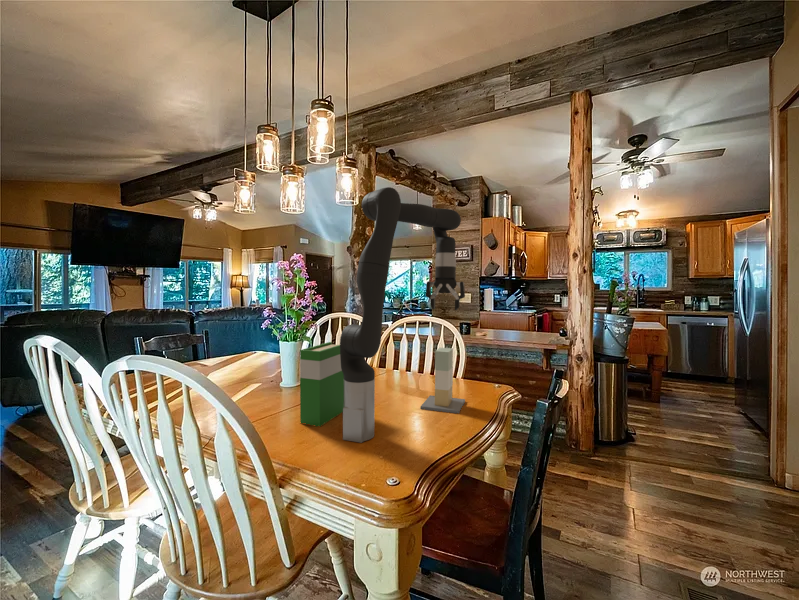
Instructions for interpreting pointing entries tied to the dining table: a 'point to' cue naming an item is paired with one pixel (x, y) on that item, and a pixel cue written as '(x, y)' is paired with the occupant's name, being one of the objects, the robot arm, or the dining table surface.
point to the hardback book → (321, 384)
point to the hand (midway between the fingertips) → (444, 309)
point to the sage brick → (444, 359)
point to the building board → (441, 408)
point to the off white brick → (443, 379)
